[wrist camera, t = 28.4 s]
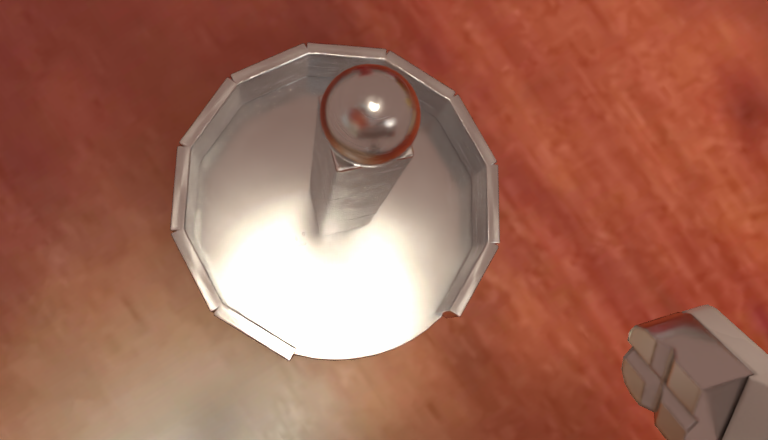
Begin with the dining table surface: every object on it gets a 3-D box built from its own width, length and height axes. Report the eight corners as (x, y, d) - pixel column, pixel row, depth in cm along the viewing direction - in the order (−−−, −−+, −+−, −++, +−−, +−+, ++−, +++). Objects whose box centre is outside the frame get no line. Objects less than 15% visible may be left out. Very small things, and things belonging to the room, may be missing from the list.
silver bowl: (213, 397, 22) (127, 463, 11) (154, 95, 24) (26, -124, 13) (516, 317, 24) (712, 301, 13) (441, 47, 26) (555, -175, 15)
